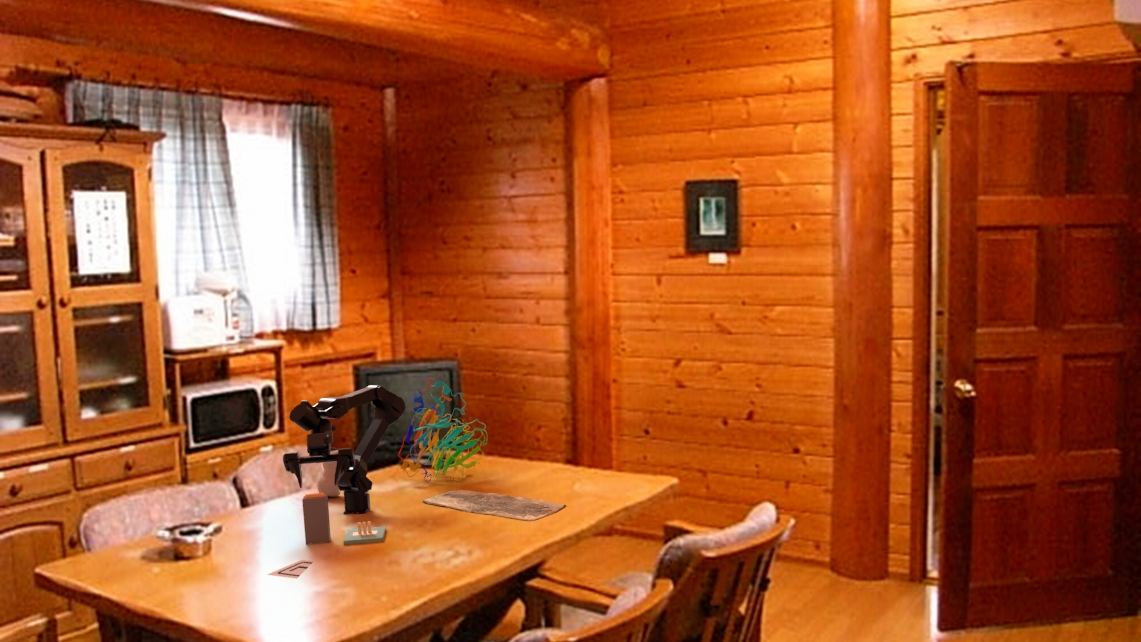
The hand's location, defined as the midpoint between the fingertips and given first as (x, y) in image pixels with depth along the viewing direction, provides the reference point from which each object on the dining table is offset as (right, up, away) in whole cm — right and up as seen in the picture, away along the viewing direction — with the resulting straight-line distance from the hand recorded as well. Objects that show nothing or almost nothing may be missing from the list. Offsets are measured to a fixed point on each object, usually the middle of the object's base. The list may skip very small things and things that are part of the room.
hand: (318, 486), depth 271 cm
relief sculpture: (+45, -9, +22) cm, 52 cm away
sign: (+12, -15, -33) cm, 39 cm away
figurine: (-7, -11, +44) cm, 46 cm away
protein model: (+27, -7, +62) cm, 68 cm away
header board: (+14, -13, -4) cm, 19 cm away
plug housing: (+2, -14, -6) cm, 15 cm away
